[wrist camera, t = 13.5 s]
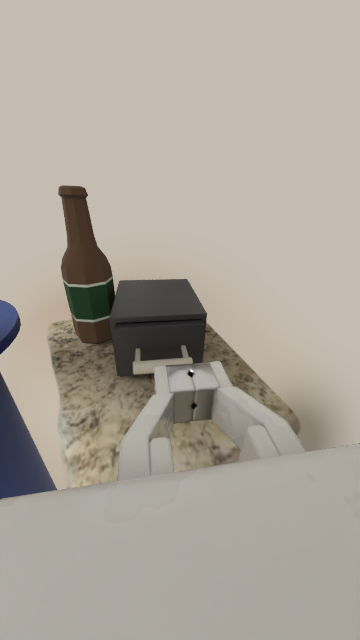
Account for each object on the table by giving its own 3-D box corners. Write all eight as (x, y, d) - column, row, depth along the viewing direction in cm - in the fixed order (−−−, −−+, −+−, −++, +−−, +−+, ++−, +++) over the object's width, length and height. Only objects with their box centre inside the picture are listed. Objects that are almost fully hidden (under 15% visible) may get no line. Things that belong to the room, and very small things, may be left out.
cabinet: (201, 368, 34) (207, 313, 29) (117, 376, 32) (109, 318, 27) (185, 322, 46) (187, 279, 42) (124, 325, 44) (119, 280, 40)
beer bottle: (66, 337, 40) (26, 184, 29) (98, 319, 46) (76, 187, 35) (97, 349, 37) (65, 184, 26) (127, 329, 43) (113, 188, 32)
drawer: (207, 392, 28) (213, 342, 25) (117, 401, 27) (109, 349, 23) (184, 324, 44) (186, 287, 40) (126, 327, 42) (122, 289, 38)
